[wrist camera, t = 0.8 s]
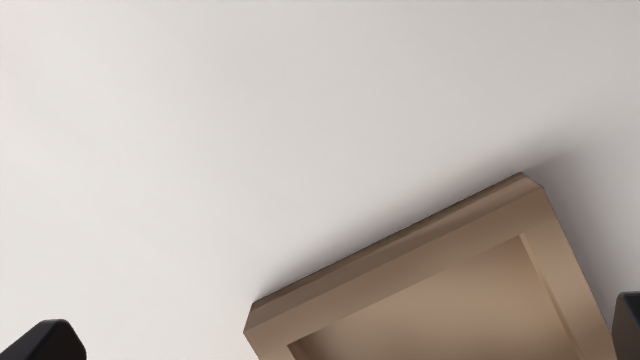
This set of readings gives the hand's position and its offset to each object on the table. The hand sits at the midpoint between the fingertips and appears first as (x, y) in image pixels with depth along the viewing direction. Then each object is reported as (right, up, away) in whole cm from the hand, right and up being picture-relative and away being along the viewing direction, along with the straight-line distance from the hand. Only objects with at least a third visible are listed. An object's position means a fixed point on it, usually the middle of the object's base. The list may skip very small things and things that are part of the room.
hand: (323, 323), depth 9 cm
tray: (+6, -6, +15) cm, 17 cm away
